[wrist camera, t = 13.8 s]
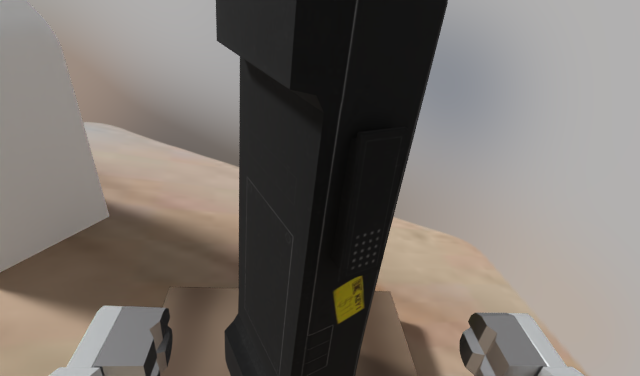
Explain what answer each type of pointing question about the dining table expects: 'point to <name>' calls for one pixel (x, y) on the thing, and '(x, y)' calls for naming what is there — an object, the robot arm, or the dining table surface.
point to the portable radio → (319, 169)
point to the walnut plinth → (222, 307)
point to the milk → (40, 141)
